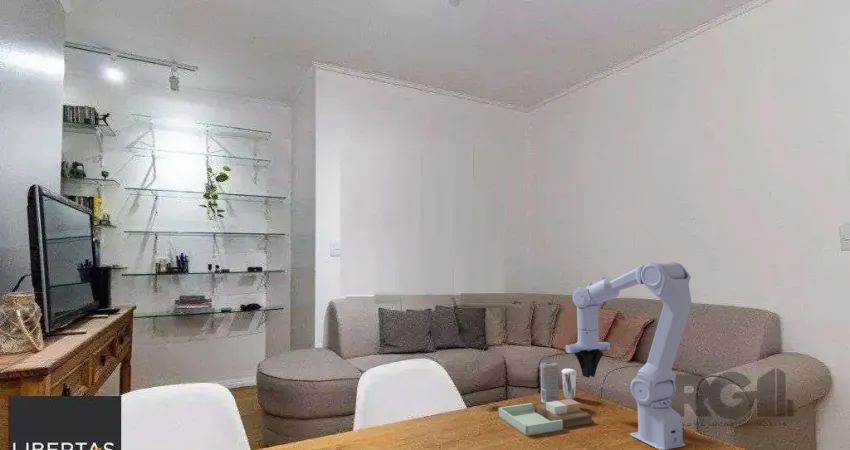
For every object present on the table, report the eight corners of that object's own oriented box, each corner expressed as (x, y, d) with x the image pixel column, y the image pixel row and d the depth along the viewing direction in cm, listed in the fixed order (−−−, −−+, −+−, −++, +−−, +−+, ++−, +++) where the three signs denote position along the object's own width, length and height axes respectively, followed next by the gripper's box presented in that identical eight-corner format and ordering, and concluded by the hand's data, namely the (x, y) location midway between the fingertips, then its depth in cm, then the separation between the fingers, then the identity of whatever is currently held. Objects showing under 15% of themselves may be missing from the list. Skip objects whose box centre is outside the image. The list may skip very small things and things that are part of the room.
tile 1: (566, 412, 121) (566, 405, 121) (555, 414, 120) (554, 407, 120) (557, 407, 125) (557, 400, 125) (546, 409, 123) (545, 402, 123)
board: (591, 422, 119) (591, 415, 119) (561, 428, 115) (561, 420, 116) (563, 408, 130) (563, 401, 130) (534, 412, 127) (534, 405, 127)
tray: (562, 429, 114) (562, 420, 114) (526, 436, 110) (526, 426, 110) (531, 411, 127) (531, 402, 128) (497, 416, 123) (497, 407, 124)
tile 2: (580, 410, 123) (579, 403, 123) (568, 412, 121) (568, 405, 121) (570, 405, 126) (570, 398, 126) (559, 407, 125) (559, 400, 125)
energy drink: (557, 400, 137) (556, 361, 138) (560, 406, 132) (560, 365, 132) (539, 399, 137) (539, 361, 138) (542, 405, 132) (542, 365, 133)
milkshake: (579, 396, 141) (578, 364, 141) (575, 401, 136) (574, 368, 137) (564, 393, 143) (564, 362, 144) (560, 398, 138) (559, 366, 139)
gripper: (597, 325, 134) (598, 370, 133) (558, 328, 129) (559, 375, 128) (615, 329, 127) (616, 376, 126) (574, 332, 122) (575, 381, 121)
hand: (588, 376), depth 127 cm, fingers closed
